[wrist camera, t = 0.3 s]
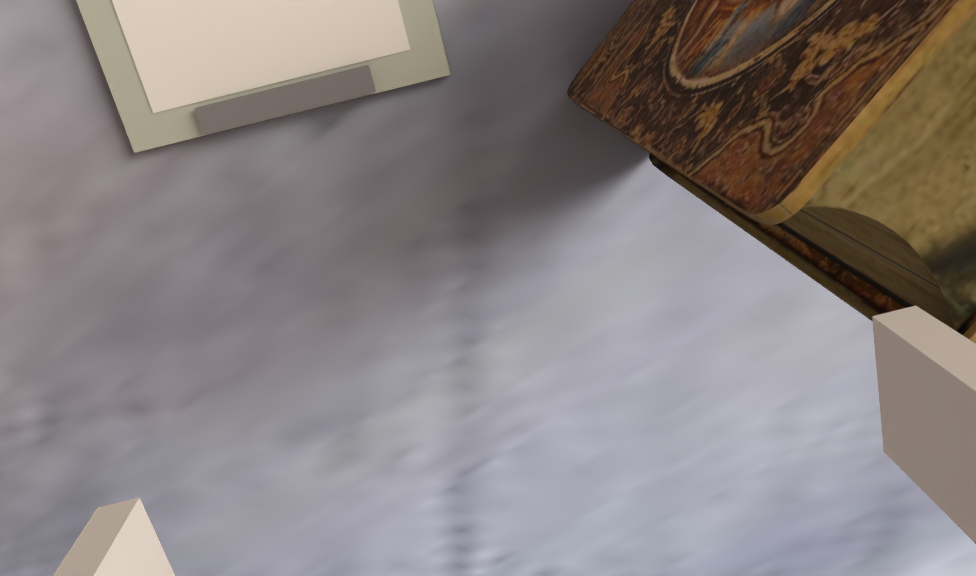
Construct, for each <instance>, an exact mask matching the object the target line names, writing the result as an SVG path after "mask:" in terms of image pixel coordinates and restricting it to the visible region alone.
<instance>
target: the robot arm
mask: <svg viewBox="0 0 976 576" xmlns="http://www.w3.org/2000/svg"><path fill="white" fill-rule="evenodd" d="M872 320H873V332H874V343H875V355H876V366H877V378H878V389H879V401H880V413H881V424H882V436H883V447H884V452H885V453H886V454H887V455H888V456H889V457H890V458H891V459H892V460H893V461H894V462H895V463H896V464H897V465H898V466H899V467H900V468H901V469H902V470H903V471H904V472H905V473H906V474H907V475H908V476H909V477H910V478H911V479H912V480H913V481H914V482H915V483H916V484H917V485H918V486H919V487H920V488H921V489H922V490H923V491H924V492H925V493H926V494H927V495H928V496H929V497H930V498H931V499H932V500H933V501H934V502H935V503H936V504H937V505H938V506H939V507H940V508H941V509H942V510H943V511H944V512H945V513H946V514H947V515H948V516H949V517H950V518H951V519H952V520H953V521H954V522H955V523H956V524H957V525H958V526H959V527H960V528H961V529H962V530H963V532H964V533H965V534H966V535H967V536H968V537H969V538H970V539H971V540H972V541H973V542H974V543H975V544H976V344H975V343H974V342H972V341H971V340H969V339H968V338H966V337H964V336H963V335H961V334H960V333H958V332H957V331H955V330H953V329H952V328H950V327H949V326H947V325H946V324H944V323H942V322H941V321H939V320H938V319H936V318H934V317H933V316H931V315H930V314H928V313H927V312H925V311H923V310H922V309H920V308H919V307H917V306H912V307H908V308H904V309H900V310H896V311H892V312H888V313H884V314H880V315H876V316H872ZM53 576H175V575H174V572H173V570H172V568H171V566H170V564H169V561H168V559H167V557H166V555H165V553H164V551H163V548H162V546H161V544H160V542H159V540H158V537H157V535H156V533H155V531H154V529H153V526H152V524H151V522H150V520H149V518H148V515H147V513H146V511H145V509H144V507H143V504H142V502H141V500H140V498H135V499H131V500H127V501H123V502H119V503H115V504H111V505H107V506H103V507H99V508H97V509H96V511H95V512H94V514H93V515H92V517H91V518H90V520H89V521H88V523H87V524H86V526H85V527H84V529H83V530H82V532H81V534H80V535H79V537H78V538H77V540H76V541H75V543H74V544H73V546H72V547H71V549H70V550H69V552H68V553H67V555H66V556H65V558H64V560H63V561H62V563H61V564H60V566H59V567H58V569H57V570H56V572H55V573H54V575H53Z"/></svg>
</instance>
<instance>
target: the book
mask: <svg viewBox="0 0 976 576" xmlns="http://www.w3.org/2000/svg"><path fill="white" fill-rule="evenodd" d="M567 94H568V96H569V98H570V99H571V100H572V101H574V102H575V103H576V104H577V105H579V106H580V107H582V108H583V109H585V110H586V111H588V112H589V113H591V114H592V115H594V116H595V117H597V118H598V119H600V120H601V121H603V122H604V123H606V124H607V125H609V126H610V127H612V128H613V129H615V130H616V131H618V132H619V133H621V134H622V135H624V136H625V137H627V138H628V139H630V140H632V141H633V142H635V143H636V144H638V145H639V146H641V147H642V148H644V149H645V150H647V151H648V152H650V154H649V159H650V161H651V162H652V164H653V165H654V166H655V167H657V168H658V169H659V170H660V171H662V172H663V173H664V174H666V175H667V176H668V177H670V178H671V179H672V180H674V181H675V182H677V183H678V184H680V185H681V186H682V187H684V188H685V189H687V190H688V191H689V192H691V193H692V194H694V195H695V196H696V197H698V198H699V199H701V200H702V201H703V202H705V203H706V204H708V205H709V206H711V207H712V208H713V209H715V210H716V211H718V212H719V213H720V214H722V215H723V216H725V217H726V218H727V219H729V220H730V221H732V222H733V223H735V224H736V225H737V226H739V227H740V228H742V229H743V230H744V231H746V232H747V233H749V234H750V235H751V236H753V237H754V238H756V239H757V240H758V241H760V242H761V243H763V244H764V245H766V246H767V247H768V248H770V249H771V250H773V251H774V252H775V253H777V254H778V255H780V256H781V257H782V258H784V259H785V260H787V261H788V262H789V263H791V264H792V265H794V266H795V267H797V268H798V269H799V270H801V271H802V272H804V273H805V274H806V275H808V276H809V277H811V278H812V279H813V280H815V281H816V282H818V283H819V284H821V285H822V286H823V287H825V288H826V289H828V290H829V291H830V292H832V293H833V294H835V295H836V296H837V297H839V298H840V299H842V300H843V301H844V302H846V303H847V304H849V305H850V306H852V307H853V308H854V309H856V310H857V311H859V312H860V313H861V314H863V315H864V316H866V317H867V318H868V319H870V320H871V321H873V320H872V316H876V315H880V314H884V313H888V312H892V311H896V310H900V309H904V308H908V307H912V306H917V307H919V308H920V309H922V310H923V311H925V312H927V313H928V314H930V315H931V316H933V317H934V318H936V319H938V320H939V321H941V322H942V323H944V324H946V325H947V326H949V327H950V328H952V329H953V330H955V331H957V332H958V333H960V334H961V335H963V336H964V337H966V338H968V339H969V340H971V341H972V342H974V343H975V344H976V0H633V2H632V3H631V4H630V6H629V7H628V8H627V10H626V11H625V12H624V13H623V15H622V16H621V17H620V19H619V20H618V21H617V23H616V24H615V25H614V27H613V28H612V29H611V31H610V32H609V33H608V35H607V36H606V37H605V39H604V40H603V41H602V43H601V44H600V45H599V47H598V48H597V49H596V51H595V52H594V53H593V55H592V56H591V57H590V58H589V60H588V61H587V62H586V64H585V65H584V66H583V68H582V69H581V70H580V72H579V73H578V74H577V76H576V77H575V79H574V80H573V81H572V83H571V85H570V87H569V89H568V93H567Z"/></svg>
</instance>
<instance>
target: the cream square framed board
mask: <svg viewBox="0 0 976 576" xmlns="http://www.w3.org/2000/svg"><path fill="white" fill-rule="evenodd" d="M76 1H77V4H78V7H79V9H80V12H81V14H82V17H83V20H84V22H85V25H86V28H87V30H88V33H89V35H90V38H91V41H92V43H93V46H94V49H95V51H96V54H97V56H98V59H99V62H100V64H101V67H102V70H103V72H104V75H105V77H106V80H107V83H108V85H109V88H110V91H111V93H112V96H113V98H114V101H115V104H116V106H117V109H118V112H119V114H120V117H121V119H122V122H123V125H124V127H125V130H126V133H127V135H128V138H129V140H130V143H131V146H132V148H133V151H134V153H136V152H140V151H144V150H148V149H152V148H156V147H160V146H164V145H168V144H173V143H177V142H181V141H185V140H189V139H193V138H197V137H201V136H205V135H209V134H213V133H217V132H221V131H225V130H229V129H233V128H237V127H241V126H245V125H250V124H254V123H258V122H262V121H266V120H270V119H274V118H278V117H282V116H286V115H290V114H294V113H298V112H302V111H306V110H310V109H314V108H318V107H322V106H326V105H331V104H335V103H339V102H343V101H347V100H351V99H355V98H359V97H363V96H367V95H371V94H375V93H379V92H383V91H387V90H391V89H395V88H399V87H403V86H408V85H412V84H416V83H420V82H424V81H428V80H432V79H436V78H440V77H444V76H448V75H451V74H450V70H449V66H448V62H447V58H446V54H445V50H444V45H443V41H442V37H441V33H440V29H439V25H438V21H437V16H436V12H435V8H434V4H433V0H76Z"/></svg>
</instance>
